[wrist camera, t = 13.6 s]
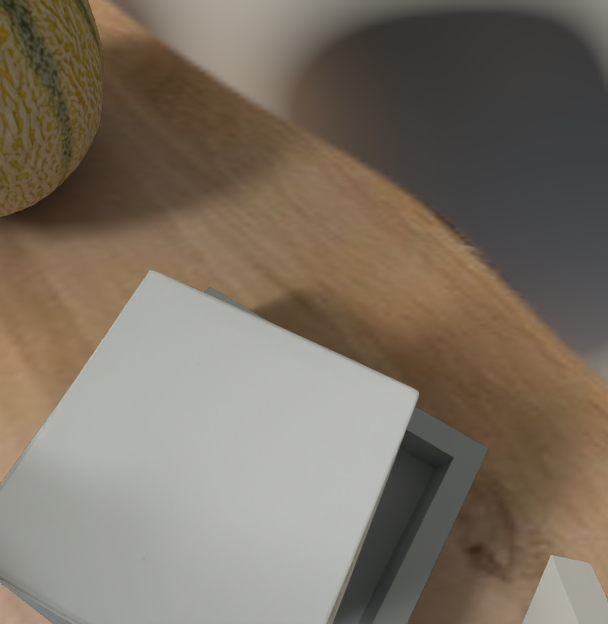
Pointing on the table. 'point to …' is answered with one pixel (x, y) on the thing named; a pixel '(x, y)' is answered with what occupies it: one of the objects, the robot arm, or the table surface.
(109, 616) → the supplement box
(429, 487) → the slate tray
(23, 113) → the cantaloupe
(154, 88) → the table surface
